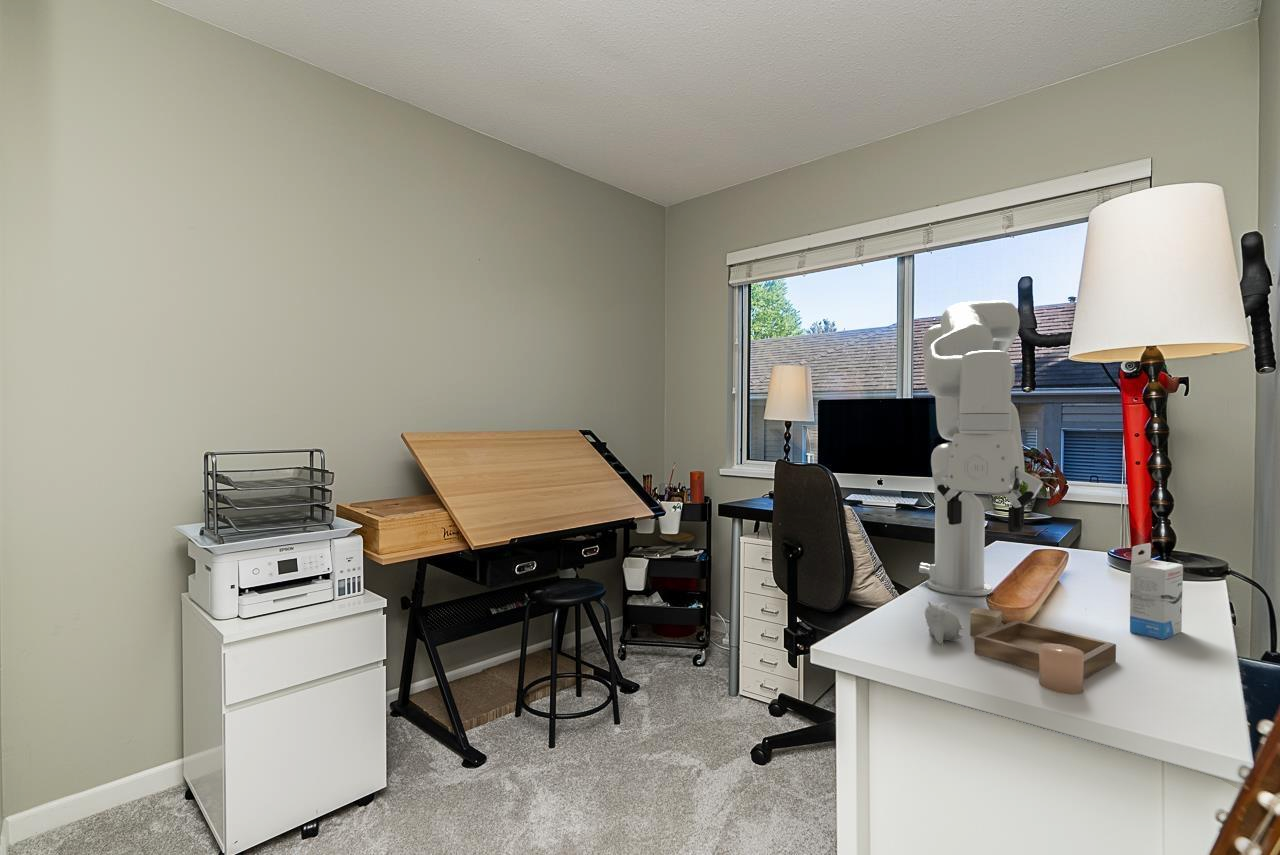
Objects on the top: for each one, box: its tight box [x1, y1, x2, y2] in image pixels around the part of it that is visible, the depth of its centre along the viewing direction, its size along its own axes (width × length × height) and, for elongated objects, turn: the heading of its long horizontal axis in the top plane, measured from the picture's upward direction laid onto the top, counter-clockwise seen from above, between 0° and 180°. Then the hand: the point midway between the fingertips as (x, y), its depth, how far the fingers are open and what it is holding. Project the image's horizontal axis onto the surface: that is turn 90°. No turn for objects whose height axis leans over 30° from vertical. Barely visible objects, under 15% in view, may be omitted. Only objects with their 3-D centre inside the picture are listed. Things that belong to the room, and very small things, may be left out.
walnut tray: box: [973, 619, 1117, 681], centre depth 96 cm, size 14×14×3 cm
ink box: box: [1129, 542, 1184, 640], centre depth 108 cm, size 8×5×15 cm, turn 123°
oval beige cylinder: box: [1038, 643, 1084, 695], centre depth 85 cm, size 5×5×5 cm
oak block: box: [969, 607, 1003, 638], centre depth 106 cm, size 4×4×4 cm
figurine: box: [924, 601, 964, 646], centre depth 103 cm, size 8×6×8 cm
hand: (983, 527), depth 105 cm, fingers open, 9 cm apart
